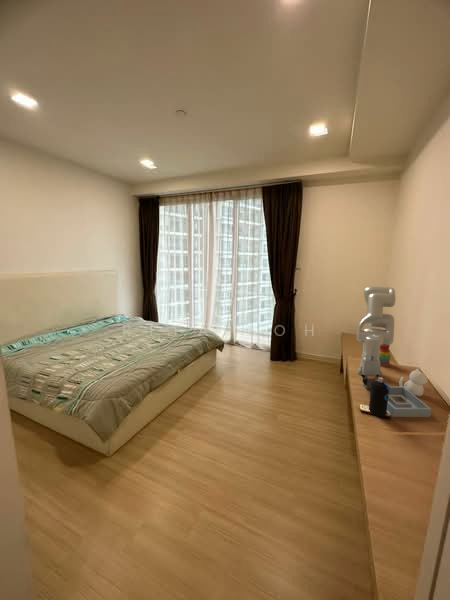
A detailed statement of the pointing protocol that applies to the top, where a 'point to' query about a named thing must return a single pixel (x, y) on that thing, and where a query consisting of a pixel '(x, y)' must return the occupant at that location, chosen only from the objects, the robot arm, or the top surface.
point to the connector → (369, 381)
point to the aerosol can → (379, 397)
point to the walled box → (417, 405)
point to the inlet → (404, 401)
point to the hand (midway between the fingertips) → (368, 383)
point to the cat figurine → (415, 382)
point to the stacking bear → (384, 355)
